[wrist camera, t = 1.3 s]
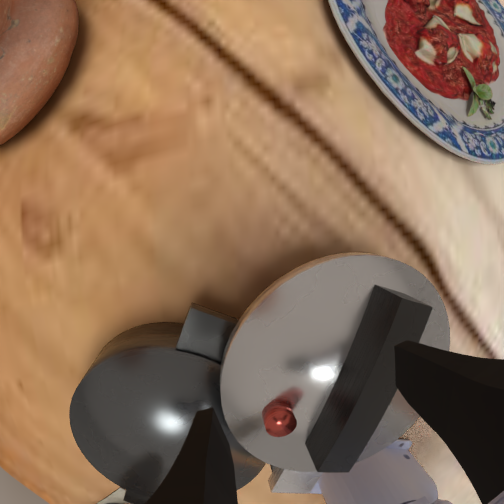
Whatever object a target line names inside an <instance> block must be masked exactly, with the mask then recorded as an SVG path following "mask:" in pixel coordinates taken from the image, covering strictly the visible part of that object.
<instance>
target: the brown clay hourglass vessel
mask: <svg viewBox="0 0 504 504" xmlns="http://www.w3.org/2000/svg"><path fill="white" fill-rule="evenodd" d="M78 28H79V16H78V9H77V5H76V2H75V0H0V145H1V144H3V143H5V142H6V141H8V140H9V139H11V138H12V137H13V136H14V135H16V134H17V133H18V132H19V131H21V130H22V129H23V128H24V127H25V126H26V125H27V124H28V123H29V122H30V121H31V120H32V119H33V118H34V117H35V116H36V115H37V113H38V112H39V111H40V110H41V109H42V108H43V106H44V105H45V104H46V103H47V101H48V100H49V99H50V97H51V96H52V94H53V93H54V91H55V90H56V88H57V86H58V85H59V83H60V81H61V79H62V78H63V76H64V74H65V72H66V69H67V67H68V65H69V62H70V58H71V55H72V52H73V50H74V47H75V44H76V41H77V36H78Z"/></svg>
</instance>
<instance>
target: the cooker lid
mask: <svg viewBox="0 0 504 504" xmlns="http://www.w3.org/2000/svg"><path fill="white" fill-rule="evenodd" d="M406 340H408V341H413V342H417V343H420V344H424V345H428V346H431V347H435V348H438V349H442V350H446V351H449V347H450V328H449V321H448V316H447V312H446V309H445V306H444V303H443V301H442V299H441V297H440V295H439V293H438V292H437V290H436V289H435V288H434V286H433V285H432V283H431V282H430V281H429V280H428V279H427V278H426V277H425V276H424V275H423V274H421V273H420V272H418V271H417V270H416V269H414V268H413V267H411V266H409V265H407V264H404V263H402V262H400V261H397V260H394V259H391V258H388V257H384V256H381V255H377V254H372V253H362V252H351V253H340V254H334V255H329V256H325V257H322V258H319V259H316V260H313V261H310V262H308V263H305V264H303V265H301V266H299V267H297V268H295V269H293V270H291V271H290V272H288V273H287V274H285V275H283V276H282V277H280V278H279V279H277V280H276V281H275V282H274V283H272V284H271V285H270V286H269V287H267V288H266V289H265V290H264V291H263V292H262V293H261V294H260V295H259V296H258V297H257V298H256V299H255V300H254V301H253V302H252V303H251V304H250V305H249V307H248V308H247V309H246V311H245V312H244V313H243V315H242V316H241V317H240V319H239V320H238V322H237V324H236V326H235V327H234V329H233V331H232V333H231V335H230V337H229V340H228V342H227V345H226V347H225V350H224V354H223V358H222V362H221V369H220V393H221V404H222V409H223V413H224V417H225V420H226V422H227V424H228V427H229V429H230V431H231V432H232V434H233V435H234V437H235V438H236V440H237V441H238V442H239V443H240V444H241V445H242V446H243V447H244V448H245V449H246V450H247V451H248V452H249V453H251V454H252V455H253V456H255V457H256V458H258V459H260V460H262V461H263V462H265V463H267V464H270V465H273V466H275V469H274V470H273V472H272V474H271V476H270V478H269V480H268V482H269V486H270V490H271V492H277V493H310V492H311V490H312V489H313V487H314V486H315V484H316V483H317V481H318V480H319V478H320V477H321V475H322V474H323V472H324V473H345V472H350V470H351V469H352V467H353V466H354V464H355V463H357V462H360V461H362V460H364V459H366V458H369V457H371V456H372V455H374V454H376V453H378V452H380V451H381V450H383V449H384V448H386V447H387V446H389V445H390V444H392V443H393V442H394V441H396V440H397V439H398V438H399V437H400V436H402V435H403V434H404V433H405V432H406V431H407V430H408V429H409V428H410V427H411V426H412V425H413V424H414V423H415V422H416V421H417V419H418V418H419V417H420V415H419V414H418V413H417V412H416V411H415V410H414V409H413V408H412V407H411V406H410V405H409V404H408V403H407V401H406V400H405V398H404V397H403V396H402V394H401V393H400V391H399V390H398V388H397V387H396V381H395V350H394V346H395V345H397V344H400V343H402V342H404V341H406Z"/></svg>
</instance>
